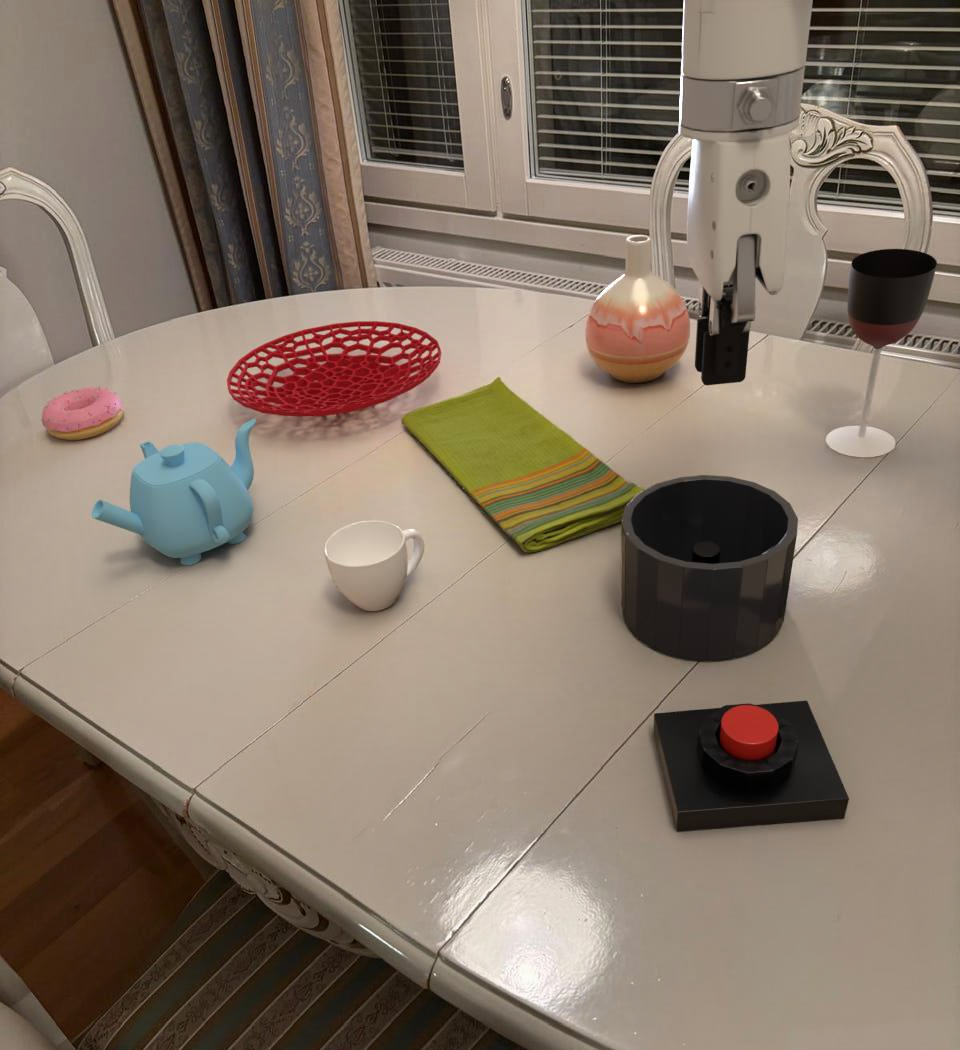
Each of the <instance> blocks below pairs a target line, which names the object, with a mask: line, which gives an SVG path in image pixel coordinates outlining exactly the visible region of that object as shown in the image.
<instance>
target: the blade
mask: <svg viewBox="0 0 960 1050" xmlns="http://www.w3.org/2000/svg"><path fill="white" fill-rule="evenodd" d="M719 561H720V547H719V546H718V545H717V544H716V543H713V542H709V541H703V542H699V543H696V544H695V545H694V546H693V549H692V562H696V563H708V564H718V563H719Z"/></svg>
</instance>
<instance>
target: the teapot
mask: <svg viewBox="0 0 960 1050" xmlns="http://www.w3.org/2000/svg"><path fill="white" fill-rule="evenodd" d="M256 423H257V419H256V418H252V419H250V420H248V421H246V422H245V423H244V424H241V426H240V427H239V428H238V430H237V431H236V434H235V438H234V448H235V449H234V450H235V457H234V461H233V463H232V464H231V466H230V464H228V462H227V461H226V460H225V459H224V458H223V457H222V456H221V455H220V453H218V452H217V451H216V450H214V449H213V448H211V447H210V446H209V445H207V444H204V443H202V442H198V441H191V442H186V443H181V444H170V445H167V446H165V447H163V448H162V449H160V451H159V449H157V447H156V446H155V444H154V443H153V442H151V440H146V441H144V442H141V443H139V446H140V448H141V451H142V455H143V457H144V459H142V460H140V461H139V462H138V463H136V464H135V466H133V468H132V471H131V476H130V477H131V478H130V485H129V508H130V509H129V510H127V509H125V508H122V507H120V506H117V505H115V504H113V503H110V502H107V501H105V500H103V499H99V500H97V501H96V502H95V503H94V505H93V507H92V511H91V517H92V519H94V520H97V521H100V522H103V523H106V524H108V525H111V526H114V527H116V528H120V529H123V530H125V531H128V532H131V533H134V534H137V535H139V536H140V537H141V538H142V539H143V541H144V542H146V543H147V544H148V545H149V546H150V547H152V548H153V549H155V551H156V550H157V552H159V553H161V554H162V555H164V556H167V557H169V558H173V559H180V564H181V565H184V566H191V565H195V564H197V563H199V562H200V561H201V559H202V553H204V552H207V551H210V550H213V549H215V548H217V547H219V546H222V545H224V544H226V543H227V544H229V545H235V544H239V543H241V542H243V541H244V540H245V539H246V537H247V535H246V533H244V531H245V530H246V529H247V528H248V526H249V525H250V523H251V521H252V518H253V513H254V503H253V500H252V497H251V495H250V493H249V489H250V488H251V486H252V484H253V481H254V477H255V476H254V475H255V468H254V461H253V458H252V453H251V448H250V435H251V432H252V430H253V428H254V426H255V424H256Z"/></svg>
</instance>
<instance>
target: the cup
mask: <svg viewBox="0 0 960 1050" xmlns="http://www.w3.org/2000/svg"><path fill="white" fill-rule="evenodd" d="M411 539H412V540H413V544H414V545H413V550H412V553H411V555H410V558H409V556H408V555H409V554H408V547H407V541H409V540H411ZM424 552H425V541H424V539H423V536H422V535H421V533H420V532H419V531H417V530H416V529H414V528H406V529H403V530H402V528H400V527H399V526H398V525H396V524H394V523H392V522H389V521H385V520H377V519H376V520H375V519H374V520H371V519H369V520H362V521H357V522H353V523H350V524H347V525H345V526H343V527H341V528H339V529H337V530H335V532H333V533H332V534H331V535H330V536H329V537H328V538H327V540H326V541H325V543H324V545H323V553H324V556H325V560H326V565H327V567H328V571H329V573H330V576H331V578H332V581H333V582H334V584H335V586H336V587H337V588H338V590H339V591H340V593H341V594H342V595H343V596H344V598H346V599H347V600H348V601H349V602H351V604H354V606H356V607H357V608H359V609H361V610H362V611H366V612H378V611H382V610H385V609H387V608H389V607H390V606H392V605H393V604H394V603H395V602H396V600H398V597H399V596H400V594H401V592H402V590H403V588H404V585H405V582H406V579H408V578H409V577H410V576H411V575H412V574H413V573H414V571H415V570H416V569H417V568H418V566H419V564H420V562H421V560H422V559H423V555H424Z"/></svg>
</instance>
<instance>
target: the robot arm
mask: <svg viewBox="0 0 960 1050" xmlns="http://www.w3.org/2000/svg"><path fill="white" fill-rule="evenodd" d="M682 10H683V11H682V13H683V14H682V34H681V35H682V36H681V37H682V39H681V41H682V42H681V61H680V62H681V63H680V64H681V65H680V95H679V116H678V117H679V122H678V134H679V135H681V137H684V138H687V139H690V140H692V144H691V145H692V146H691V150H690V156H691V157H690V168H689V178H688V179H689V181H688V194H687V213H686V254H687V259H688V263H689V265H690V267H691V269H692V271H693V272H694V274H695V275H696V278H697V279H698V281H699V284H698V285H699V286H698V287H699V288H698V303H697V304H698V305H697V307H698V308H697V311H698V317H699V318H698V319H696V334H695V336H696V337H695V352H694V353H695V354H694V369H695V370H696V371H697V372H698V373H701V376H700V380H701V382H702V384H703V385H704V386H714V385H725V384H726V385H727V384H734V383H735V384H736V383H741V382H743V381H744V380H745V379H746V374H747V363H748V355H749V354H748V352H749V342H750V332H751V328H752V327H751V326H752V322H754V321H755V319H756V279H757V280H758V282H759V283H760V284H761V286H762V287H763V288H764V290H765V291H766V292H767V293H768V294H769V295H770V296H775V295H778V294H779V293H780V292H781V291H782V289H783V287H784V280H785V269H786V254H787V241H788V228H789V227H788V225H789V212H790V191H791V143H790V134H789V133H791V132H792V131H795V130H796V129H798V127H799V125H800V115H801V105H802V98H803V89H804V88H803V87H804V80H805V71H806V64H807V63H806V62H807V55H808V45H809V37H810V27H811V19H812V12H813V11H812V10H813V0H683V9H682Z"/></svg>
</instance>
